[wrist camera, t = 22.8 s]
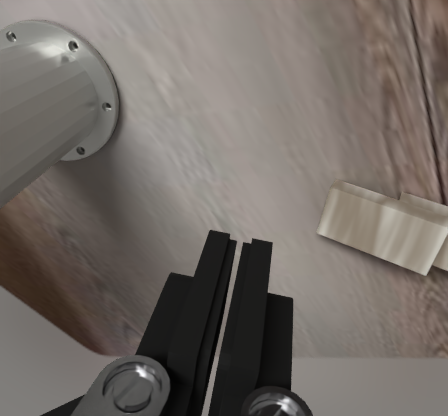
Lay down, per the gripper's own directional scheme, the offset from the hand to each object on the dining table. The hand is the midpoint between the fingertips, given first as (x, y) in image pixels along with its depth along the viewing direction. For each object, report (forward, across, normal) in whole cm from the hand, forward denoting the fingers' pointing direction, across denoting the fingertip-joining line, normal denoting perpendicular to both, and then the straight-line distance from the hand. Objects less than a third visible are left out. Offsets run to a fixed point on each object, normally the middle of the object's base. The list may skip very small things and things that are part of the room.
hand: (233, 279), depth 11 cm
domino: (+26, -7, +12) cm, 29 cm away
